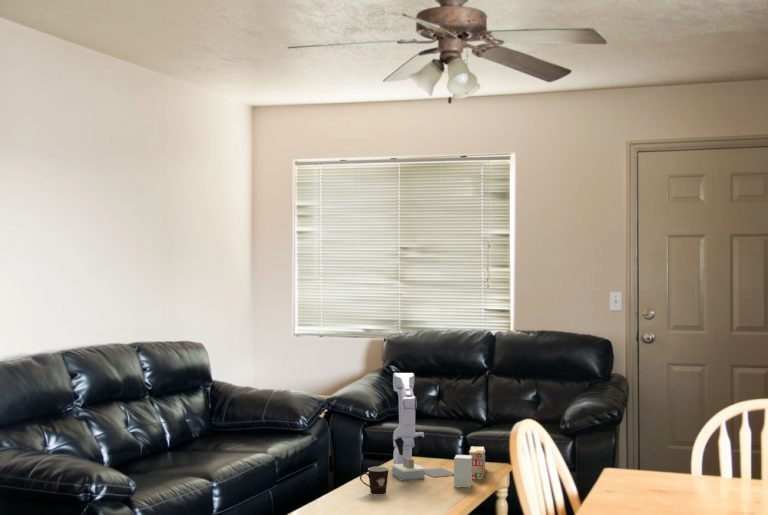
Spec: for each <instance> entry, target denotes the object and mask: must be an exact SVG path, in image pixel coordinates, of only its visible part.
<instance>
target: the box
mask: <svg viewBox="0 0 768 515" xmlns="http://www.w3.org/2000/svg"><path fill="white" fill-rule="evenodd" d="M393 475H394V476H393ZM392 476H393V477H395V476H396V477H395V478H397V477H398V478H397V479H399V478H400V479H399V480H401V479H402V480H401V481H402V482H409V481H410V480H412V481H418V480H419V481H420V480H425V473H424V470H423V471H413V472H402V471H400V470H398V469H396V468H394V467H392Z"/></svg>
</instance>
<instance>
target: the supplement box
mask: <svg viewBox="0 0 768 515" xmlns="http://www.w3.org/2000/svg"><path fill="white" fill-rule="evenodd" d="M453 473H454V476H453V487H454V488H460V487H470V488H471V487H472V485H473V479H472V456H471V455H469V454H467V455H466V454H455V457H454V458H453ZM471 484H472V485H471Z"/></svg>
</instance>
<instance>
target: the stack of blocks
mask: <svg viewBox="0 0 768 515" xmlns="http://www.w3.org/2000/svg"><path fill="white" fill-rule="evenodd" d="M468 453H469V454H468V455H471V456H472V478H483V479H484V477H483V476H485V472H484V471H486V449H485V447H484V446H473V445H472V446H470V449H469V451H468Z"/></svg>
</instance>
